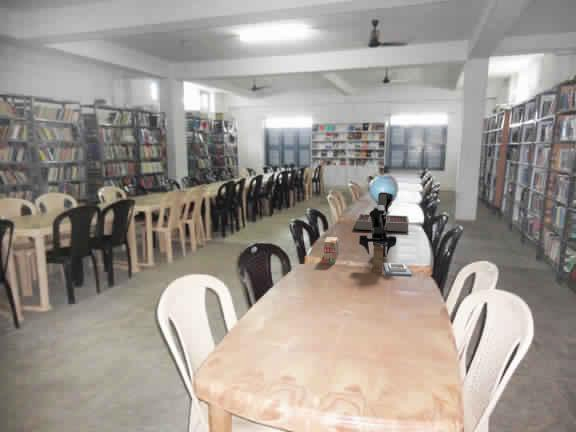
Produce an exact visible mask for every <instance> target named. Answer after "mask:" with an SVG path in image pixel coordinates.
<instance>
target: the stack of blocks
mask: <svg viewBox="0 0 576 432" xmlns="http://www.w3.org/2000/svg"><path fill="white" fill-rule="evenodd" d="M323 247H324V248H323V263H324V264H336V262H337V260H338V256H339V249H340V248H339V247H340V244H339V238H338V237H337V236H326V238H325V240H324V243H323Z"/></svg>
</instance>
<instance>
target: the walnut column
mask: <svg viewBox="0 0 576 432" xmlns="http://www.w3.org/2000/svg"><path fill="white" fill-rule="evenodd" d="M372 256H373V259H372V271H373V273H383V267H384V265H383V263H384V257H383V245H373V255H372Z"/></svg>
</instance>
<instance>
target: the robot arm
mask: <svg viewBox="0 0 576 432" xmlns="http://www.w3.org/2000/svg"><path fill="white" fill-rule="evenodd" d="M377 196H378V197H377V200H378V202H377V204H376V205H375V206H374V207H373V209H372V210H371V211H370V212H369V215H370V219H371V223H372V230H371V237H368V235H365V234H360V235H359V238H358V239H359V240H358V242H359V243H358V244H359V246H360V245H361V246H362V247H364V248H365V250H366V253H367V254H368V255H370V247H369V246H370V245H369V243H371V242H372V246H374V245H383V258H387V257H388V255H389V252H390V250H391V248H393V247H395V246H396V243H397V237H396V236H395V235H388V231H387V226H386V223H387V215H388V214H389V209H390V208H391V206H392V203H393V202H394V194H393V193H389V192H388V191H380V192H379V193H378V195H377Z"/></svg>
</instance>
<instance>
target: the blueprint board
mask: <svg viewBox="0 0 576 432" xmlns="http://www.w3.org/2000/svg"><path fill="white" fill-rule="evenodd" d="M383 267H384V271H385V274H386V275H387V276H401V277H402V276H406V277H407V276H408V277H412V275H413V274H412V272H411V270H410V268H409V266H408V265H407V263H401V262H383Z"/></svg>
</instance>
